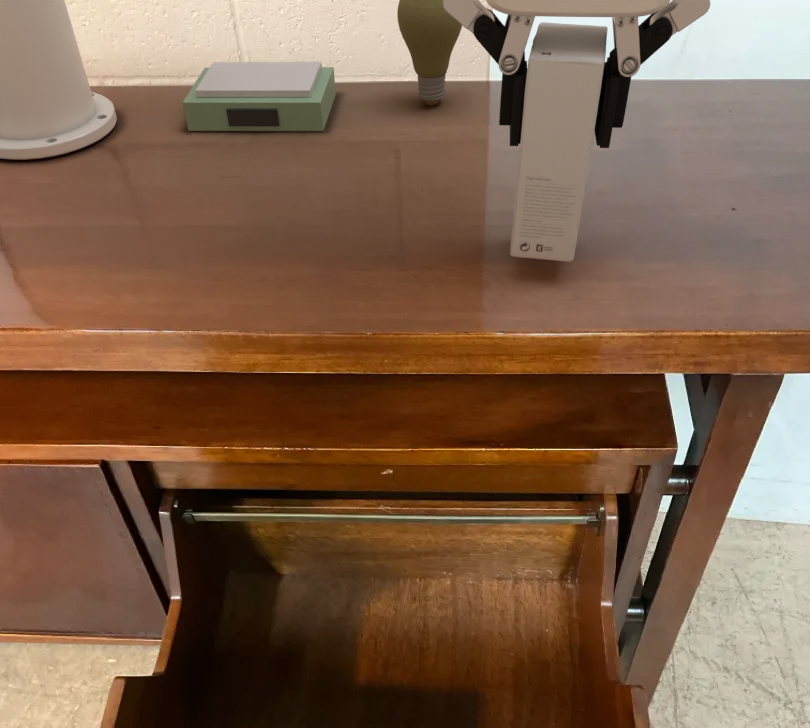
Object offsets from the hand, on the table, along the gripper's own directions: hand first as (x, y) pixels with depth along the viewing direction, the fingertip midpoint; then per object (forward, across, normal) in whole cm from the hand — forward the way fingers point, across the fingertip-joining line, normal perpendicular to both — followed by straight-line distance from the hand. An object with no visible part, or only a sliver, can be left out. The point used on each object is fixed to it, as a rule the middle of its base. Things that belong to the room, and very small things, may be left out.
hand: (558, 134), depth 51 cm
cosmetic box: (+7, 0, 0) cm, 7 cm away
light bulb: (+9, +9, -27) cm, 30 cm away
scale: (+9, +24, -25) cm, 36 cm away
